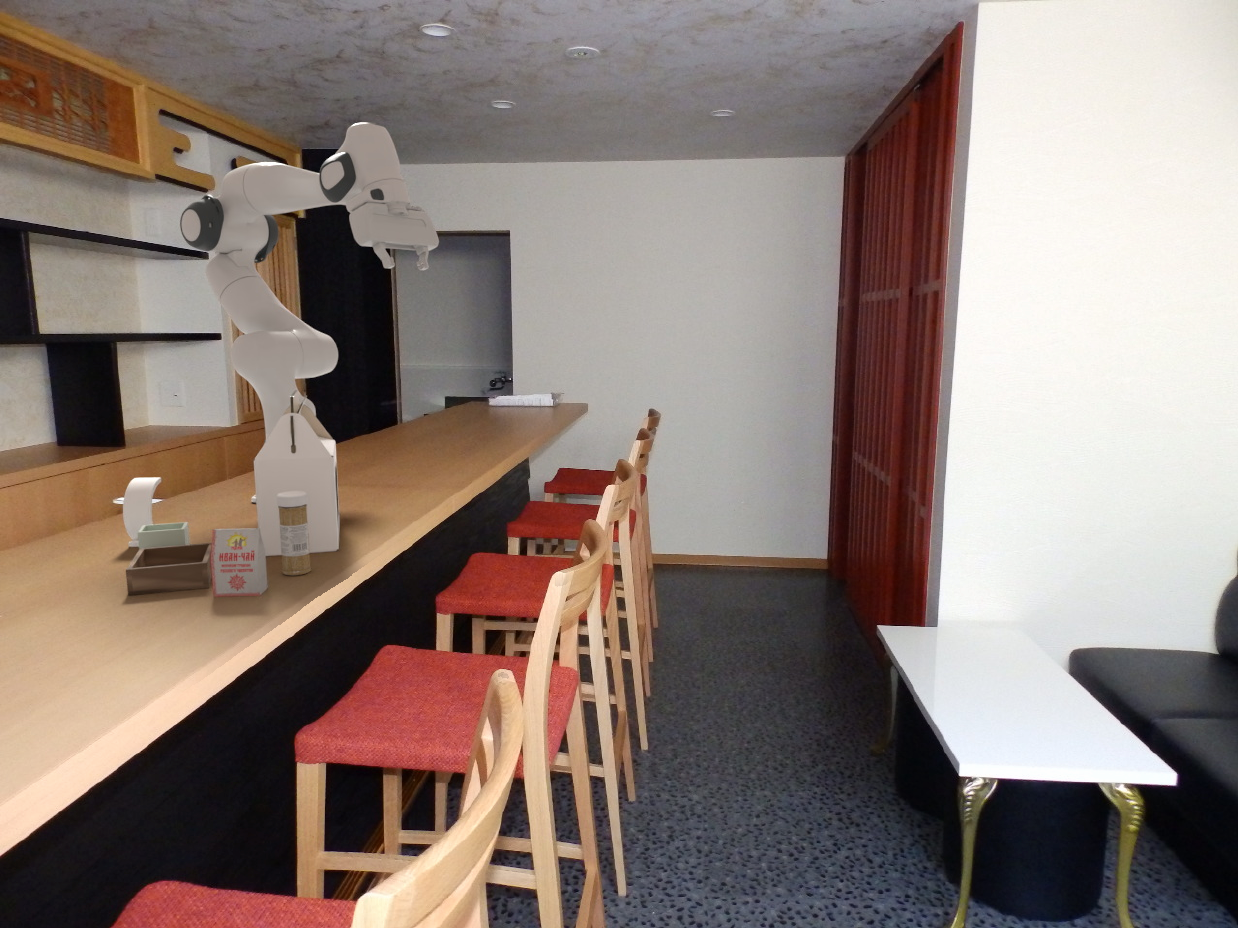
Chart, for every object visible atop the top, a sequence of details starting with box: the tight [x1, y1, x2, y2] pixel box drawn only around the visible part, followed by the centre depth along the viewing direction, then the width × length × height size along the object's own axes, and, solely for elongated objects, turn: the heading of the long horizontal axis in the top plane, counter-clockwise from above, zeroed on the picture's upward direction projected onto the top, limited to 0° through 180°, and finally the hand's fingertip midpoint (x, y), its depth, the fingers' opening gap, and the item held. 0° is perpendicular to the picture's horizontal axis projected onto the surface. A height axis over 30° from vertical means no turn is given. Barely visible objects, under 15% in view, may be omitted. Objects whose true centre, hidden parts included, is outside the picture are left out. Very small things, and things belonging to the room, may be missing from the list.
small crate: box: [138, 521, 191, 550], centre depth 144 cm, size 7×6×6 cm
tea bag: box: [211, 527, 268, 598], centre depth 128 cm, size 4×7×10 cm, turn 95°
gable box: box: [253, 389, 341, 557], centre depth 158 cm, size 22×13×28 cm, turn 18°
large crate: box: [125, 542, 212, 596], centre depth 134 cm, size 13×11×4 cm
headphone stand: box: [122, 476, 162, 548], centre depth 155 cm, size 5×6×12 cm
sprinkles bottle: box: [277, 491, 312, 576], centre depth 137 cm, size 5×5×14 cm
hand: (407, 268), depth 169 cm, fingers open, 8 cm apart
